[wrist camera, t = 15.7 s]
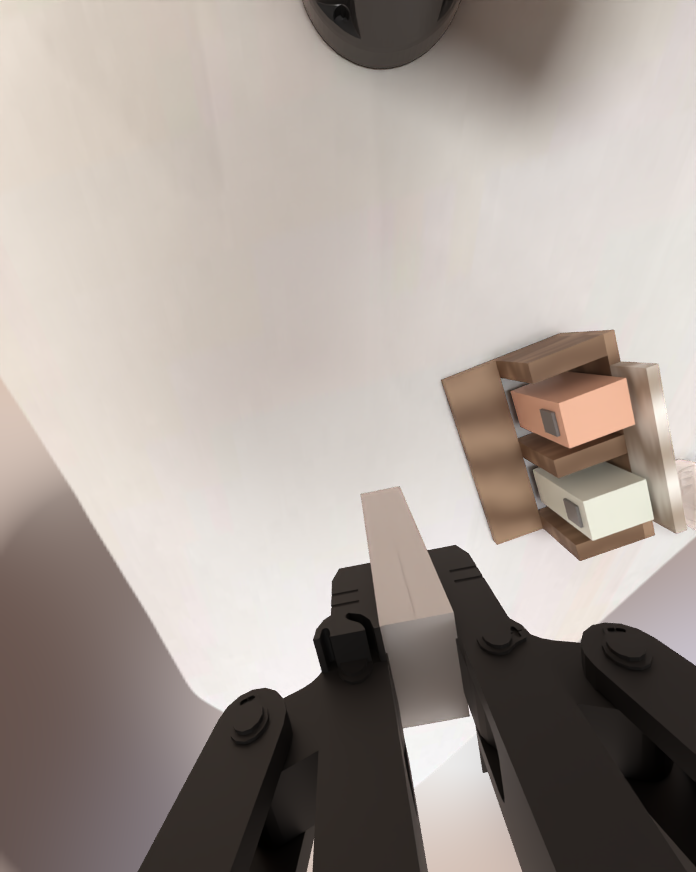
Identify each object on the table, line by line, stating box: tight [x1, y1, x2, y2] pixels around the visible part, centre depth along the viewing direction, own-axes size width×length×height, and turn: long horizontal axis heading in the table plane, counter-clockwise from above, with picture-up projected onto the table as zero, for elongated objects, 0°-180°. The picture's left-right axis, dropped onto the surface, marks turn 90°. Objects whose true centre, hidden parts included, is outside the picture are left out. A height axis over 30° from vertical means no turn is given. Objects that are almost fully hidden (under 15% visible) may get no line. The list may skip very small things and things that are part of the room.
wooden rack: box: [441, 330, 687, 561], centre depth 37 cm, size 22×14×12 cm, turn 22°
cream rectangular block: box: [533, 462, 654, 541], centre depth 38 cm, size 4×6×9 cm
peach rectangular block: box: [511, 371, 635, 448], centre depth 36 cm, size 4×6×9 cm
